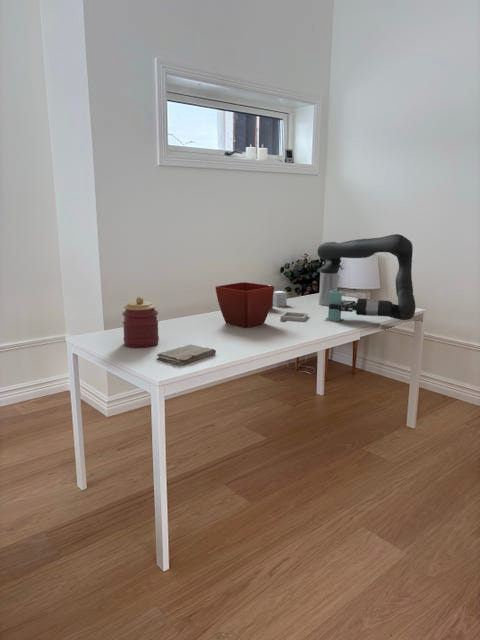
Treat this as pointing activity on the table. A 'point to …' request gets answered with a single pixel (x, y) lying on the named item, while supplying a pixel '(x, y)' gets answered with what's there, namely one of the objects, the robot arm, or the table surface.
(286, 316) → the tray
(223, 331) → the table surface
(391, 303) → the robot arm
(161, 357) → the washcloth
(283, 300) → the skincare box
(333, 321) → the square wooden base
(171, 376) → the table surface
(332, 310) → the teal square tube
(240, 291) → the plant pot
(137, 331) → the canister
